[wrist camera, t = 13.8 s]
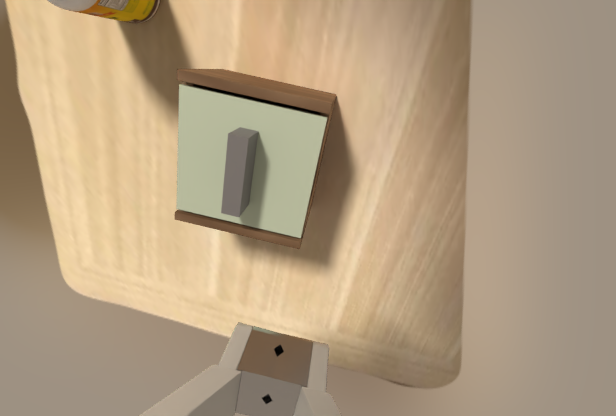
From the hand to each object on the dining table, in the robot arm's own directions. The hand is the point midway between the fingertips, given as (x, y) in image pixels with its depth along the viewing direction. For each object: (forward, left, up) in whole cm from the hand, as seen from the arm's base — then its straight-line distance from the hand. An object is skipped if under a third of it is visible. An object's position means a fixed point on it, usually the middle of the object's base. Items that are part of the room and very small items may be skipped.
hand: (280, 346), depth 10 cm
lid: (0, -6, -16) cm, 17 cm away
